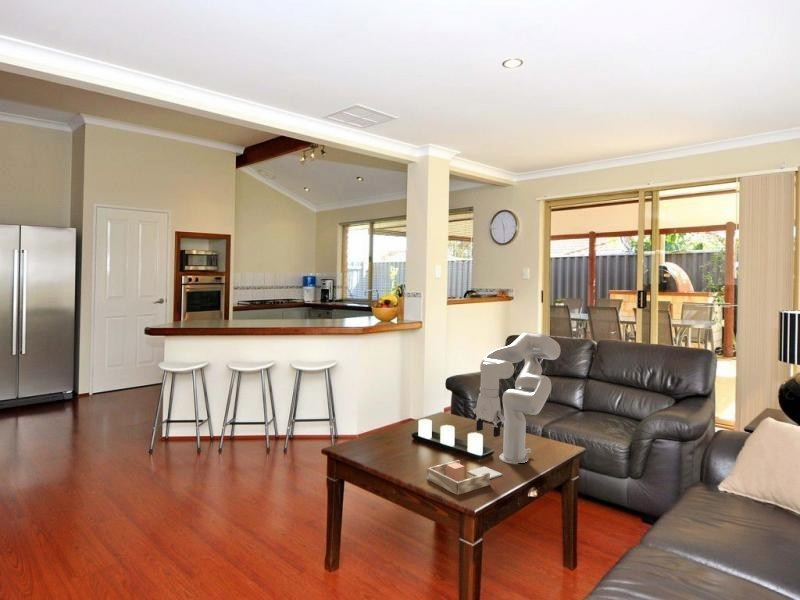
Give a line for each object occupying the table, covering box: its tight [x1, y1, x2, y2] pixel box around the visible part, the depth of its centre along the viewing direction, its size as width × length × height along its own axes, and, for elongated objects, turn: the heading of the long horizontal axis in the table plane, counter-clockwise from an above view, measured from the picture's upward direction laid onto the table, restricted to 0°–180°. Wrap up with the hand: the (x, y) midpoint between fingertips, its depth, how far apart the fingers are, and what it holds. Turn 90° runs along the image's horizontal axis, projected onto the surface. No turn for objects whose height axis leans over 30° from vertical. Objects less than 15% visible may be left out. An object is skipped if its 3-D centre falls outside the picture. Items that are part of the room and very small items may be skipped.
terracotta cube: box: [445, 462, 466, 482], centre depth 205 cm, size 5×5×7 cm
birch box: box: [426, 459, 491, 496], centre depth 206 cm, size 17×18×4 cm
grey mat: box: [467, 466, 503, 480], centre depth 215 cm, size 10×10×1 cm
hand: (488, 433), depth 215 cm, fingers open, 9 cm apart
